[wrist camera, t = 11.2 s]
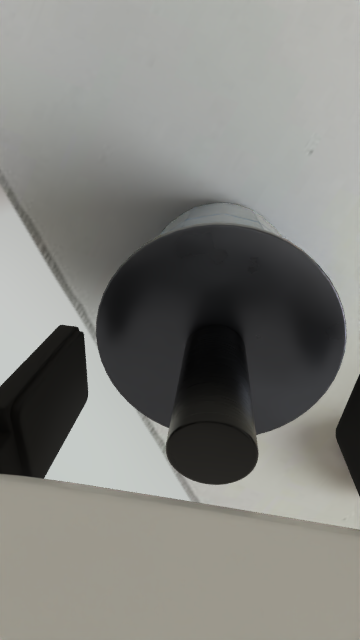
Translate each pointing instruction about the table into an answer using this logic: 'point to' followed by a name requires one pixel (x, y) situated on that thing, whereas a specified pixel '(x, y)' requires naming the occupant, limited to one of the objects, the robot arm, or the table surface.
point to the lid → (220, 341)
